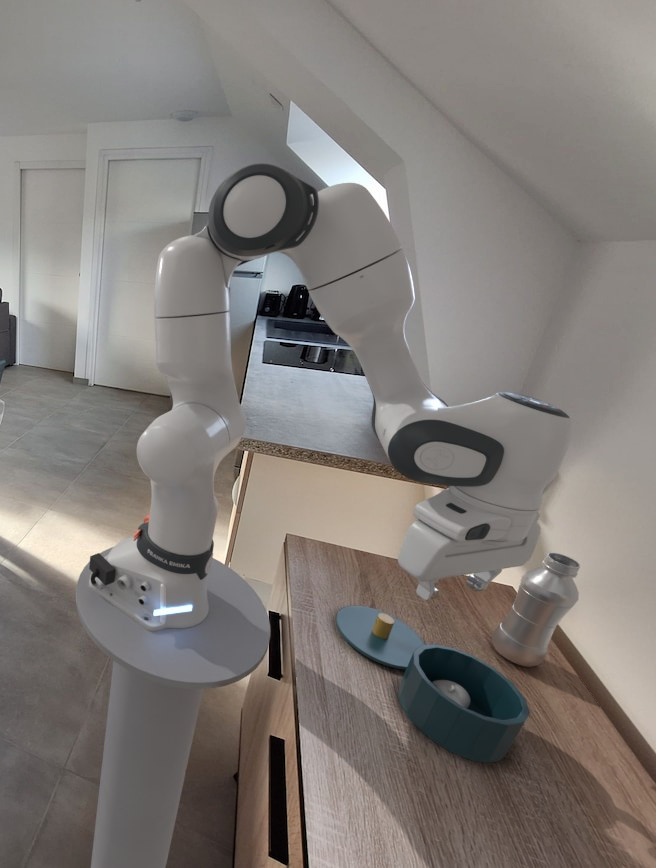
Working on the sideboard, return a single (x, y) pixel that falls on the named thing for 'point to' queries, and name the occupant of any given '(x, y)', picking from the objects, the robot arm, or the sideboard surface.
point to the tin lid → (378, 635)
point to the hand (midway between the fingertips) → (450, 592)
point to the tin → (454, 724)
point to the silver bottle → (537, 610)
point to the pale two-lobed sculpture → (453, 692)
